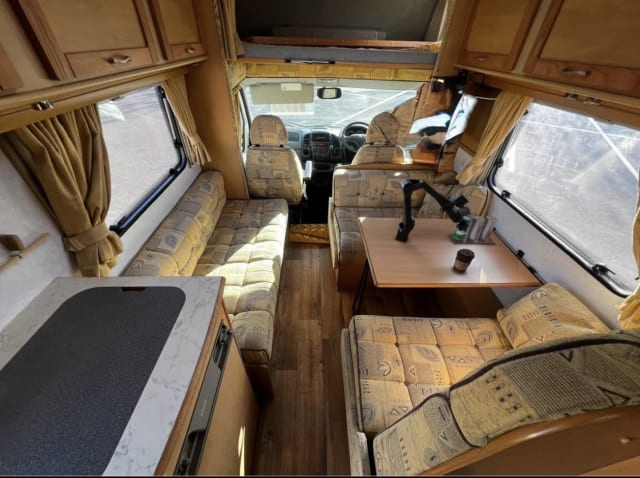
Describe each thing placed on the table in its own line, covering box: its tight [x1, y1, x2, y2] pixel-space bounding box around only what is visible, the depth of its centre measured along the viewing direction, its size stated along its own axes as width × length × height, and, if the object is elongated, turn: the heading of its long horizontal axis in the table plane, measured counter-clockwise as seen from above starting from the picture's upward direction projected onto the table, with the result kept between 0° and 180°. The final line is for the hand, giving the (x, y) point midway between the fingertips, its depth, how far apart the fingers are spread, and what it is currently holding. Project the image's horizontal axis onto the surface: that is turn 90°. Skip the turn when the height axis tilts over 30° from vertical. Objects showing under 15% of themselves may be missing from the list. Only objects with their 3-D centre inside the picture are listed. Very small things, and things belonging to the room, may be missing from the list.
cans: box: [466, 215, 498, 241], centre depth 161 cm, size 14×6×15 cm, turn 89°
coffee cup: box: [452, 248, 476, 275], centre depth 138 cm, size 9×8×13 cm
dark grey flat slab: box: [448, 233, 496, 246], centre depth 166 cm, size 25×10×1 cm, turn 89°
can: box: [452, 215, 473, 241], centre depth 161 cm, size 6×6×15 cm
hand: (464, 228), depth 161 cm, fingers closed on can, 6 cm apart
